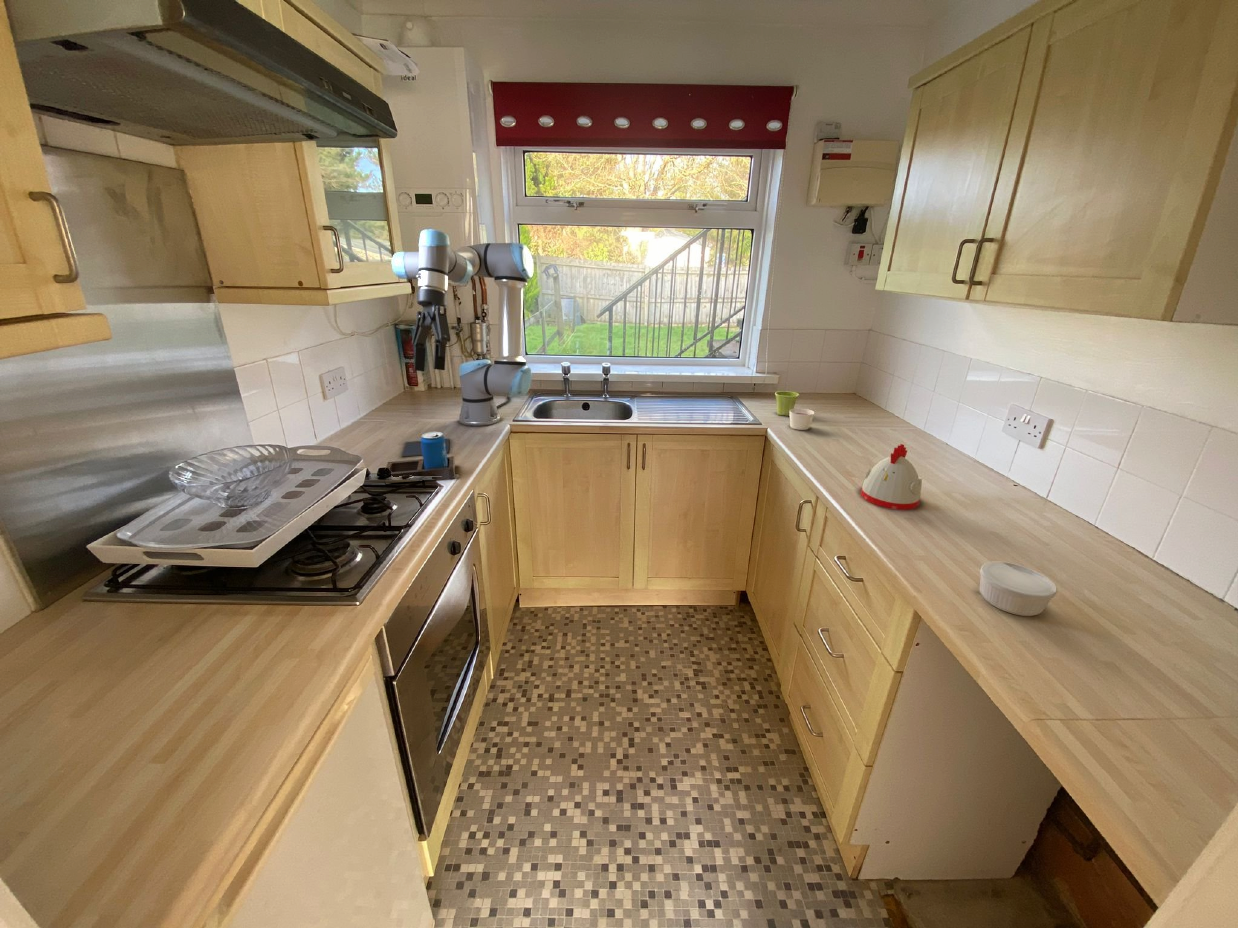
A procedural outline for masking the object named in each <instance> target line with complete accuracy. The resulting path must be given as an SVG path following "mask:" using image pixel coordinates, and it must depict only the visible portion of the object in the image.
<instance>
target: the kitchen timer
mask: <svg viewBox="0 0 1238 928" xmlns="http://www.w3.org/2000/svg"><path fill="white" fill-rule="evenodd" d="M907 454H908V450H907V447H905V444H902V443H900V444H897V447H894V448H893V453H892V452H891V453H890V456H888V457H885V458H883V459H882V460H880V461H879V462H877V463H876V464H875V465H874V466H873V467H872V468H870V467H869V468H868V469H867V472H866V474H865V476H864V480H863V483H862V485H861V490H860V495H861V497H862V498H863V499H864V500H866V501H867V502H869V503H870V504H873V505H876V506H879V507H882V508H886V509H891V510H897V511H898V510H899V511H902V510H904V511H905V510H907V511H908V510H912V509H916V508H917V507H918V506H919V505H920V501H921V495H922V493H921V491H922V482H923V479H922V478H919V475H918V472H917V470H916V468H915V467H914V465H913V464H912V463H911V462H910V460H909V459H907V458H906V457H907Z"/></svg>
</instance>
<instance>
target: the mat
mask: <svg viewBox="0 0 1238 928" xmlns="http://www.w3.org/2000/svg"><path fill="white" fill-rule="evenodd" d="M445 445H446V453H447V454H449V451H450V438H445ZM401 457H402V458H409V457H410V458H411V457H423V454H422V446H421V440H416V441H415V440H414V441H406V443H405V445H404V448H403V451H402V454H401Z"/></svg>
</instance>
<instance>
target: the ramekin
mask: <svg viewBox="0 0 1238 928" xmlns="http://www.w3.org/2000/svg"><path fill="white" fill-rule="evenodd" d="M979 574H980V577H979V579H980V580H979V592H980V594H981V596H982V597H983V599H984V600H985V601H986V602H987V603H988V604H990V605H992V606H993V607H995V608H997V609H999V610H1001V611H1004V612H1005V613H1008V614H1012V615H1016V616H1023V617H1033V616H1037V615H1039V614H1041V613H1043V611H1044V610H1045V609H1046V608H1047V606H1048V605H1049V604H1050V602H1051V600H1052V599H1054V598H1055V597H1056V595H1057V593H1058V588H1057V585H1056V584H1055V583H1054V581H1052V580H1051V579H1050V578H1048V577H1047V576H1046V575H1044V574H1042V573H1040V572H1039V571H1036V570H1033V569H1032V568H1030V567H1027V566H1024V565H1020V564H1017V563H1014V562H1013V563H1012V562H1009V561H1000V560H999V561H997V560H996V561H995V560H994V561H988V562H985V563H984V564H982V566H981V568H980V570H979Z"/></svg>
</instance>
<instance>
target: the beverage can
mask: <svg viewBox="0 0 1238 928" xmlns="http://www.w3.org/2000/svg"><path fill="white" fill-rule="evenodd" d="M445 439H446V438H445V436H444V434H443V433H442V432H440V431H428V432H425V433H422V435H421V437H420V441H421V446H422V454H423V456H422V459H423V461H424V468H425V469H434V468H445V467H448V461H447V457H448V453H446V445H445Z"/></svg>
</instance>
